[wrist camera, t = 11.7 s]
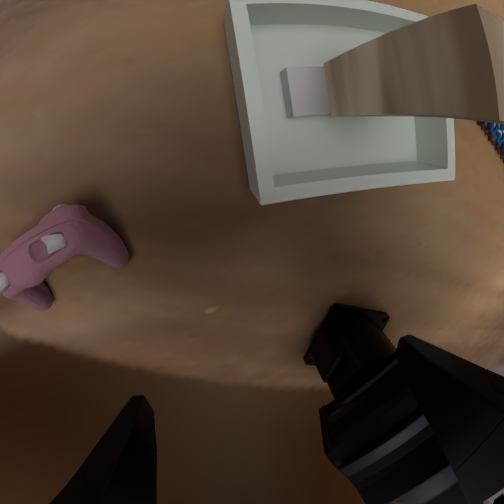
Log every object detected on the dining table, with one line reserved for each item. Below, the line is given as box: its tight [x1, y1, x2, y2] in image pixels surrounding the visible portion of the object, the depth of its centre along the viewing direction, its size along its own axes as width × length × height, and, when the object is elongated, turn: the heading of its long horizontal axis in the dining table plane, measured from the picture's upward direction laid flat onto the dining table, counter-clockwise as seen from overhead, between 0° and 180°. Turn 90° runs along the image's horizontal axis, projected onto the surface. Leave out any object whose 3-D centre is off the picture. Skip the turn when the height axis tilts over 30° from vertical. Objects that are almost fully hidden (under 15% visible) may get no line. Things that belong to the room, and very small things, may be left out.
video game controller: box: [0, 204, 129, 310], centre depth 15 cm, size 10×5×7 cm, turn 113°
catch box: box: [224, 0, 455, 205], centre depth 14 cm, size 14×12×4 cm
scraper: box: [280, 4, 504, 124], centre depth 10 cm, size 8×3×13 cm, turn 98°
